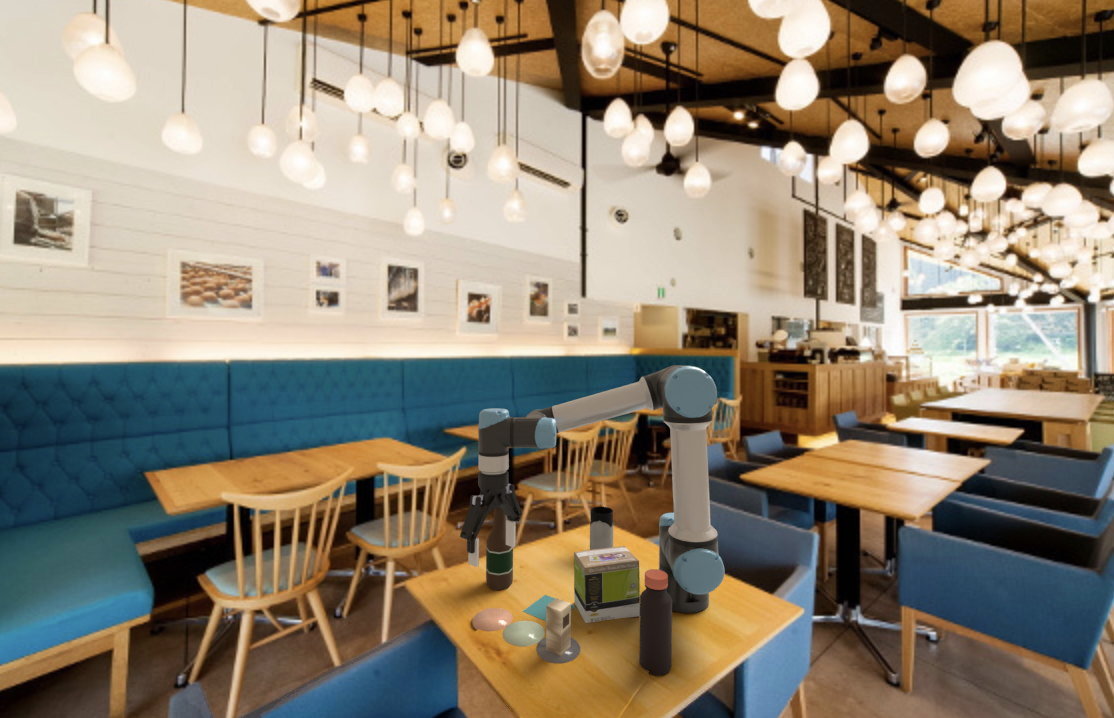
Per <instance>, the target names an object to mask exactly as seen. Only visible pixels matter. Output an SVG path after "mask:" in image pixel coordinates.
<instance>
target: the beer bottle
mask: <svg viewBox="0 0 1114 718" xmlns="http://www.w3.org/2000/svg"><path fill="white" fill-rule="evenodd" d="M493 510H494V511H493V523H492V524H493V525H492V529H491V531H490V532H489V534H488V537H487V538H486V543H485V544H486V545H485V546H486V547H485V548H486V549H485V550H486V551H485V557H486V558H485V564H486V565H485V580H486V582H485V583H486V586H488V588H489V589H490V590H493V591H494V590H495V591H502V590H506V589H509V588H510V586H511V585H512V584H513V582H514V581H513V579H514V547H511V546H508V545H506V520H507V516H506V514H505V513H504V512H503V510H502V509H501V508H500V507H496V508H495V509H493Z"/></svg>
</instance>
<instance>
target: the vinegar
mask: <svg viewBox="0 0 1114 718" xmlns="http://www.w3.org/2000/svg"><path fill="white" fill-rule="evenodd" d="M644 586H645V589H643V591H641V592H640V616H639V657H638V658H639V665H640V667H641V668H642V669H643V670H645V671H646V672H648V675H649V674H650V675H652V676H657V677H659V676H664V675H667V674H669V673H670V671H671V669H672V659H673V658H672V649H673V648H672V645H673V644H672V643H673V642H672V640H673V610H672V598H671V596H670V595H669V594H668V592H667V591H666V590H667V588H668V587H667V586H668V575H667V574H666V573H665V572H664V571H661V570H658V569H655V568H653V569H652V568H651V569H648V570H646V571H644Z"/></svg>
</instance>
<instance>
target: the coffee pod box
mask: <svg viewBox="0 0 1114 718" xmlns="http://www.w3.org/2000/svg"><path fill="white" fill-rule="evenodd" d="M573 572H574V573H573V580H574V581H573V585H574V586H573V590H574V594H573V595H574V598H573V599H574V604H575V607H577V610H578V612H579V613H580V614H579V615H581V617H582V619H583V621H584V623H586V624H589V623H595V622H601V621H609V620H616V619H624V618H627V619H628V618H629V619H630V618H635V617H640V595H641V591H640V590H641V589H640V588H641V586H640V582H641V581H640V560H638V558H637V557H636V556H635V555H634V554H633V553H632V552H631V551H630V550H629V549H628V548H627V547H626V546H625V545H621V546H613V547H612V548H604V549H594V550H590V549H589V550H588V549H587V550H582V551H574V553H573Z"/></svg>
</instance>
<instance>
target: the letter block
mask: <svg viewBox="0 0 1114 718" xmlns="http://www.w3.org/2000/svg"><path fill="white" fill-rule="evenodd" d="M571 605H572V603H571V602H567V601H565V600H563V599H560V598H558V597H557V598H556V599H555V600H553V601H552V602H551V603H549V604H548V605H547V606H546V621H545V637H546V650H548V651H550V652H552V653H554V654H556V655H559V656H562V655H563V654H564V653H565V652H566V651H567V650H568V649H569V648H570V647H571V638H572V637H571V632H572V630H571V629H572V628H571V626H572V625H571V624H572V623H571V622H572V618H571V617H572V616H571V615H572V610H571Z"/></svg>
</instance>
